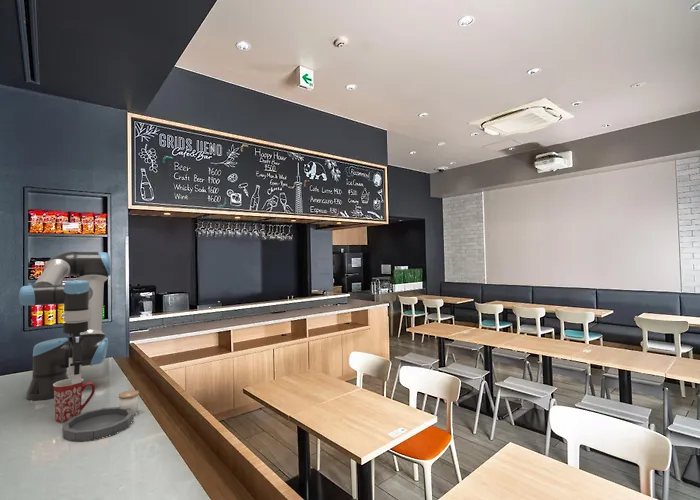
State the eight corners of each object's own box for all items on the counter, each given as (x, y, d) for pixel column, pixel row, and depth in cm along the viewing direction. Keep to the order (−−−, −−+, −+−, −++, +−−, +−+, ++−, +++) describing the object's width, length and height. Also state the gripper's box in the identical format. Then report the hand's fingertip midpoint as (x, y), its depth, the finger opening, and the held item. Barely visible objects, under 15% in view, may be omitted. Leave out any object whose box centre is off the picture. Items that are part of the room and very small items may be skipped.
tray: (61, 425, 129) (61, 417, 129) (126, 410, 142) (126, 402, 142) (64, 448, 114) (65, 438, 114) (137, 428, 127) (137, 420, 127)
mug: (51, 426, 128) (52, 387, 129) (52, 417, 135) (53, 381, 136) (95, 416, 136) (96, 380, 136) (93, 408, 143) (94, 374, 144)
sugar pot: (116, 413, 139) (117, 392, 139) (136, 408, 143) (136, 388, 144) (120, 419, 134) (120, 397, 134) (140, 414, 138) (140, 393, 139)
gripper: (61, 318, 144) (59, 373, 143) (65, 327, 125) (64, 389, 124) (84, 316, 148) (83, 369, 148) (92, 324, 130) (90, 384, 129)
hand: (74, 378), depth 136 cm, fingers open, 13 cm apart
